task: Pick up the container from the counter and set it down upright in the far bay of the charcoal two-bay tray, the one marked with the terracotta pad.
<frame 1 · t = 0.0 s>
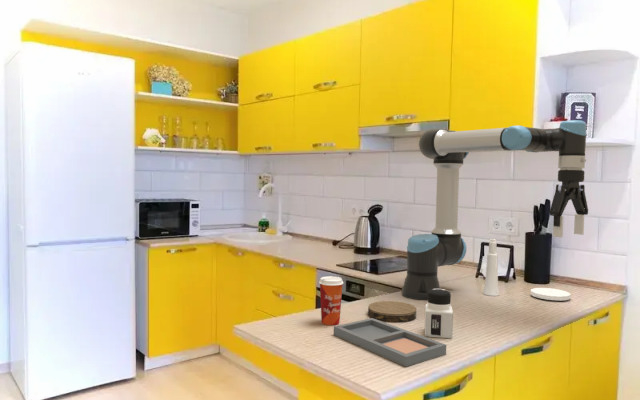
hand: (568, 235, 156), 28 cm above the countertop, fingers open, 13 cm apart
plastic lid: (549, 298, 189), on the countertop
brown disc: (392, 316, 161), on the countertop
container: (438, 334, 143), on the countertop
cosmetic bottle: (491, 294, 193), on the countertop
paper cup: (330, 323, 152), on the countertop
two-bay tray: (386, 344, 134), on the countertop
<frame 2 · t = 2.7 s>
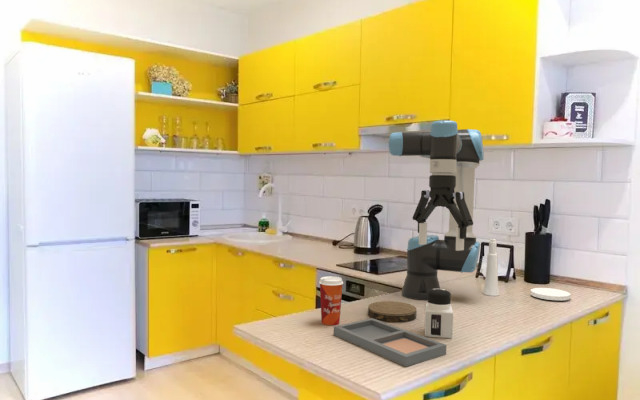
hand: (440, 247, 142), 26 cm above the countertop, fingers open, 13 cm apart
nothing on the countertop moved.
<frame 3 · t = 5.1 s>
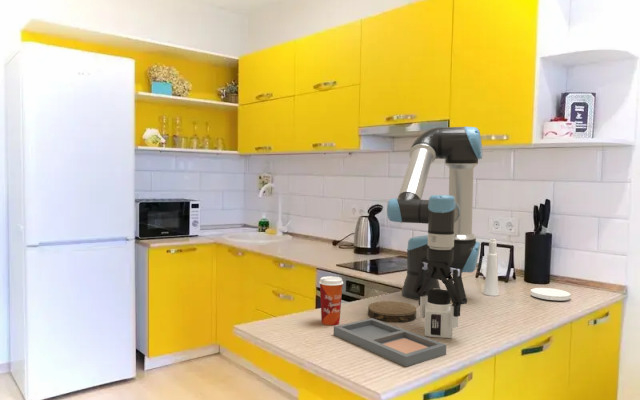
hand: (438, 322, 143), 3 cm above the countertop, fingers closed on container, 10 cm apart
container: (437, 334, 143), on the countertop, touching gripper
everything else where it was.
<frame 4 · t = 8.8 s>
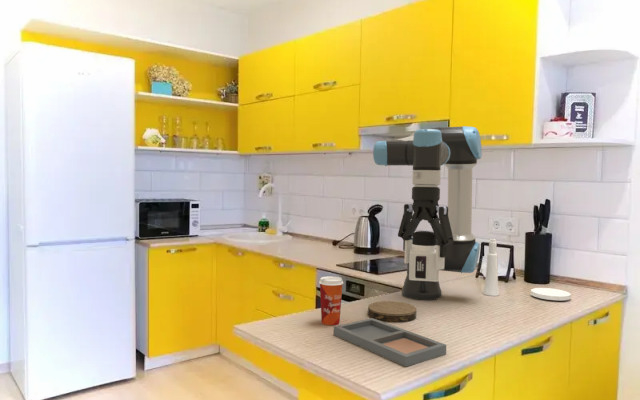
hand: (423, 266, 134), 22 cm above the countertop, fingers closed on container, 10 cm apart
container: (423, 279, 134), point 18 cm above the countertop, touching gripper
everything else where it was.
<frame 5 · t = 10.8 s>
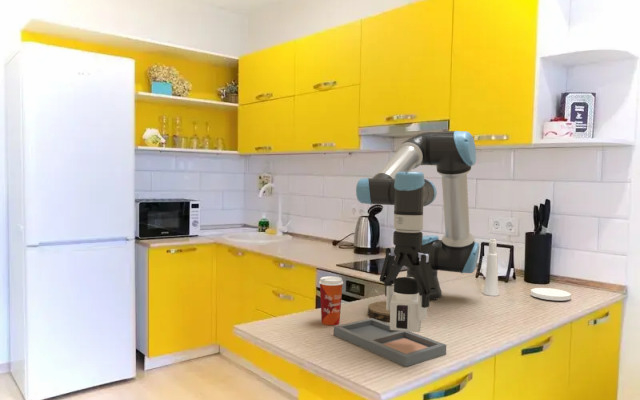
hand: (405, 314, 128), 10 cm above the countertop, fingers closed on container, 10 cm apart
container: (405, 327, 128), point 6 cm above the countertop, touching gripper
everything else where it was.
when the fingers open (6 cm above the countertop, at t = 12.7 s): container drops 1 cm, resting on two-bay tray.
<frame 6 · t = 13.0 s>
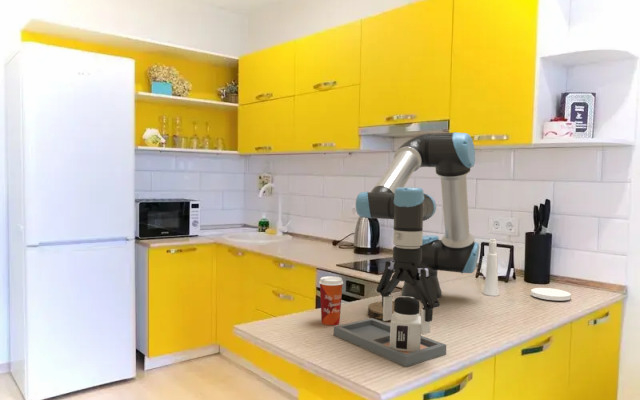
hand: (405, 326, 128), 7 cm above the countertop, fingers open, 13 cm apart
container: (405, 347, 128), point 1 cm above the countertop, touching two-bay tray
everything else where it was.
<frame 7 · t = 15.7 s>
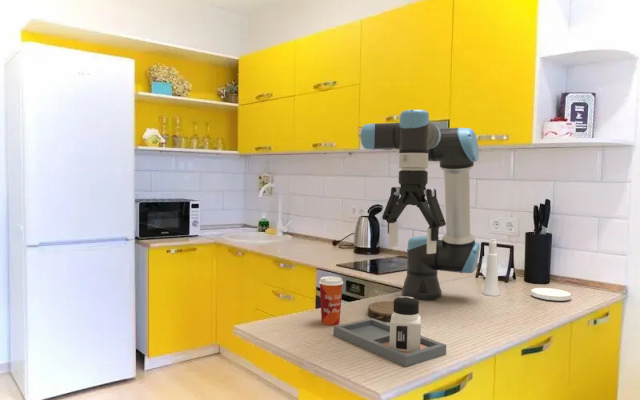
hand: (411, 249, 129), 27 cm above the countertop, fingers open, 13 cm apart
nothing on the countertop moved.
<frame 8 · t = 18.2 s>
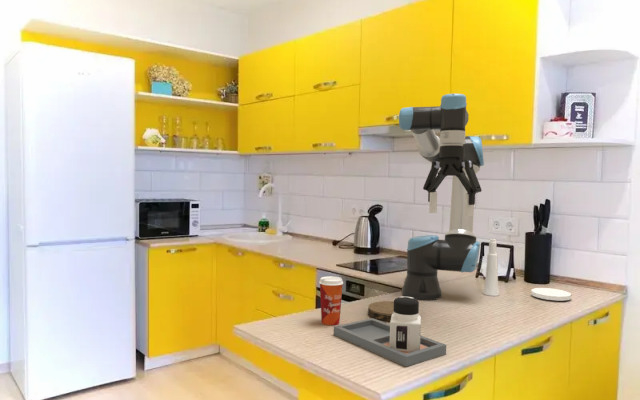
hand: (450, 214, 150), 35 cm above the countertop, fingers open, 13 cm apart
nothing on the countertop moved.
at the end: container inside the target area on the two-bay tray (0.0 cm from its centre), point 1.0 cm above the two-bay tray's base; container tilted 0°; the gripper is holding nothing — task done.
